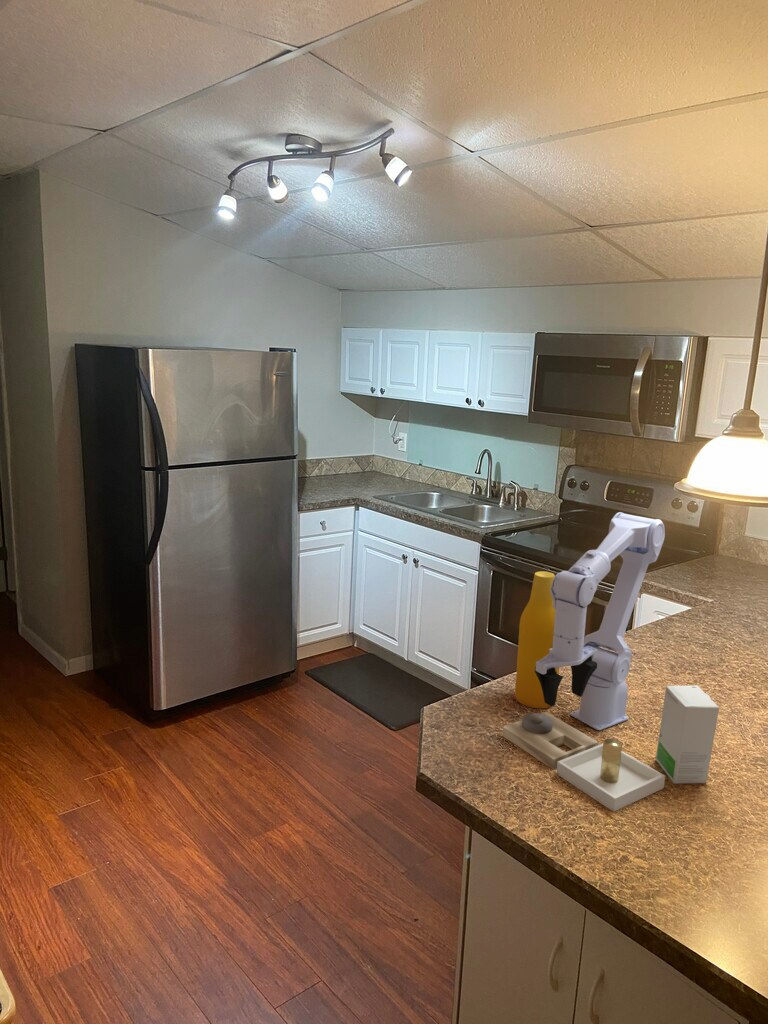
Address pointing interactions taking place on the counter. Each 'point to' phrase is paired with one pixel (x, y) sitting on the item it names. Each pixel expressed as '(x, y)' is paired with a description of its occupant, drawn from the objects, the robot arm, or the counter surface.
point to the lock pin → (611, 760)
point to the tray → (628, 789)
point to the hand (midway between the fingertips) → (563, 699)
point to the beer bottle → (535, 641)
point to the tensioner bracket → (547, 738)
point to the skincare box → (686, 734)
